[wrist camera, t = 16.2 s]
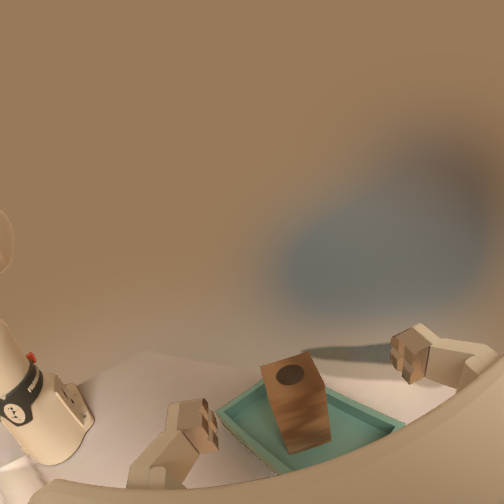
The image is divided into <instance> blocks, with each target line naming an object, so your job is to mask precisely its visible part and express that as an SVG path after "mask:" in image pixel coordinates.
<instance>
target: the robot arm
mask: <svg viewBox="0 0 504 504" xmlns="http://www.w3.org/2000/svg"><path fill="white" fill-rule="evenodd" d="M14 244H15V243H14V233H13V229H12V226H11V223H10V221H9V219H8V218H7V216H6V215H5V213H4V212H3V211H2V210H1V209H0V274H1V273H2V272H3V271H4V270H5V269H6V268H7V267H8V266H10V265H11V263H12V259H13V255H14V247H15V245H14ZM391 345H392V346H393V348H392V350H391V352H390V358H391V362H392V364H393V366H394V368H395V369H396V370H398V371H401V372H402V377H403V378H404V379H405V380H406V381H407V383H408V384H409V385H410V384H412V383H414V382H416V381H418V380H420V379H422V378H423V377H425V378H427V379H430V380H433V381H436V382H439V383H441V384H444V385H447V386H449V387H452V388H455V389H457V390H456V393H455V395H454V396H452V397H451V398H449V399H448V400H446V401H445V402H443V403H442V404H441V405H439V406H437V407H436V408H434V409H433V410H431V411H430V412H428V413H426V414H425V415H423V416H421V417H420V418H418V419H416V420H415V421H413V422H411V423H409V424H408V425H406V426H404V427H402V428H400V429H399V430H397V431H395V432H393V433H391V434H389V435H387V436H385V437H383V438H381V439H379V440H377V441H374V442H372V443H370V444H368V445H366V446H363V447H361V448H359V449H356V450H354V451H352V452H349V453H347V454H344V455H342V456H339V457H336V458H334V459H331V460H328V461H325V462H322V463H319V464H316V465H313V466H310V467H307V468H303V469H300V470H296V471H293V472H289V473H285V474H282V475H277V476H273V477H269V478H264V479H260V480H255V481H249V482H244V483H238V484H231V485H224V486H216V487H207V488H195V489H187V488H186V487H185V486H184V485H183V484H182V482H183V481H184V479H185V478H186V476H187V474H188V473H189V471H190V469H191V468H192V466H193V465H194V463H195V461H196V460H197V458H198V456H199V454H200V453H206V452H212V451H218V450H219V448H218V438H217V436H216V434H215V433H216V432H217V422H216V418H215V416H214V413H213V412H212V410H210V409H208V403H207V401H206V399H204V398H202V399H195V400H189V401H182V402H177V403H170V404H169V406H168V412H167V419H166V426H165V432H161V433H160V434H159V436H158V437H157V438H156V439H155V440H154V441H153V442H152V443H151V444H150V445H149V446H148V448H147V449H146V450H145V451H144V452H143V453H142V454H141V455H140V456H139V457H138V458H137V459H136V460H135V461H134V462H133V464H132V465H131V466H130V469H129V474H128V480H127V486H126V489H125V488H114V487H104V486H97V485H90V484H84V483H78V482H73V481H68V480H64V479H54V480H53V481H51V482H49V483H48V484H46V485H45V486H44V487H42V488H41V489H40V490H38V491H37V492H36V493H34V494H33V496H32V497H31V499H30V500H29V502H28V504H504V355H503V356H502V357H501V356H499V354H497V353H496V352H495V351H493V350H492V349H491V348H489V347H488V346H487V345H485V344H478V343H471V342H465V341H458V340H451V339H446V338H443V339H440V338H439V337H438V336H436V335H435V334H434V333H433V332H431V331H430V330H429V329H427V328H426V327H425V326H424V325H422V324H420V323H418V324H416V325H414V326H413V327H411V328H409V329H407V330H405V331H403V332H401V333H399V334H397V335H395V336H393V337H392V338H391ZM33 363H36V359H35V357H34V355H33V353H31V352H30V353H29V354H28V355H25V354H24V353H23V351H22V349H21V348H20V346H19V344H18V343H17V341H16V339H15V337H14V336H13V334H12V332H11V330H10V328H9V326H8V325H7V324H6V323H5V322H4V321H3V320H2V319H0V416H1V419H2V422H3V423H4V425H5V426H6V427H7V428H8V430H9V431H10V432H11V433H12V435H13V436H14V437H15V438H16V440H17V441H18V442H19V443H20V444H21V449H22V450H23V452H24V453H26V454H29V455H31V456H32V457H33V458H34V459H35V460H36V461H37V462H39V463H40V464H43V465H55V464H58V463H61V462H63V461H65V460H66V459H68V458H69V457H70V456H71V455H72V454H73V453H74V452H75V451H76V450H77V448H78V447H79V445H80V444H81V442H82V439H83V437H84V435H85V433H86V431H87V430H88V429H89V428H90V427H91V426H92V424H93V423H94V418H93V417H92V415H91V413H90V411H89V409H88V407H87V406H86V404H85V402H84V400H83V398H82V396H81V394H80V392H79V390H78V388H77V386H76V385H75V384H65V385H64V384H63V383H62V382H61V380H60V379H59V378H58V377H57V375H55V374H51V373H42V372H41V371H40V370H39V369H38V367H37V366H36V365H34V364H33Z"/></svg>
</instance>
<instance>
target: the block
mask: <svg viewBox="0 0 504 504" xmlns="http://www.w3.org/2000/svg"><path fill="white" fill-rule="evenodd" d="M260 367H261V371H262V375H263V379H264V383H265V387H266V391H267V395H268V399H269V403H270V405H271V408H272V411H273V413H274V416H275V419H276V421H277V424H278V427H279V429H280V432H281V434H282V437H283V440H284V442H285V445H286V447H287V450H288V452H289V455H291V454H295V453H298V452H302V451H305V450H308V449H311V448H314V447H317V446H320V445H323V444H326V443H329V442H332V440H331V431H330V423H329V414H328V406H327V399H326V391H325V384H324V382H323V380H322V378H321V376H320V374H319V372H318V370H317V368H316V366H315V365H314V362H313V360H312V358H311V356H310V354H309V352H305V353H302V354H299V355H296V356H293V357H290V358H287V359H283V360H280V361H277V362H274V363H270V364H267V365H263V366H260Z"/></svg>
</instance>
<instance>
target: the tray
mask: <svg viewBox="0 0 504 504" xmlns="http://www.w3.org/2000/svg"><path fill="white" fill-rule="evenodd" d="M325 391H326V399H327V406H328V414H329V423H330V431H331V440H332V442H329V443H326V444H323V445H320V446H317V447H314V448H311V449H308V450H305V451H302V452H298V453H295V454H291V455H289V452H288V450H287V447H286V445H285V442H284V440H283V437H282V434H281V432H280V429H279V427H278V424H277V421H276V419H275V416H274V413H273V411H272V408H271V405H270V403H269V399H268V395H267V391H266V387H265V383H264V379H262V380H261V381H260V382H258V383H257V384H255V385H254V386H253V387H251V388H250V389H248V390H247V391H245V392H244V393H243V394H241V395H240V396H238V397H237V398H235V399H234V400H232V401H231V402H229V403H228V404H226V405H225V406H223V407H222V408H220V409H219V410H217V411H216V413H217V415H218V417H219V418H220V420H221V422H222V423H223V425H224V426H225V427H226V428H227V429H228V430H229V431H230V432H231V433H232V434H234V435H235V436H236V437H237V438H238V439H239V440H240V441H241V442H242V443H243V444H244V445H245V446H246V447H247V448H248V449H249V450H250V451H252V452H253V453H254V454H255V455H256V456H257V457H258V458H259V459H260V460H262V461H263V462H264V463H265V464H266V465H267V466H269V467H270V468H271V469H272V470H273V471H275V472H276V473H277V474H278V475H282V474H285V473H289V472H293V471H296V470H300V469H303V468H307V467H310V466H313V465H316V464H319V463H322V462H325V461H328V460H331V459H334V458H336V457H339V456H342V455H344V454H347V453H349V452H352V451H354V450H356V449H359V448H361V447H363V446H366V445H368V444H370V443H372V442H374V441H377V440H379V439H381V438H383V437H385V436H387V435H389V434H391V433H393V432H395V431H397V430H399V429H400V428H402V427H404V426H405V423H403V422H401V421H398V420H396V419H393V418H391V417H389V416H386V415H384V414H382V413H380V412H377V411H375V410H373V409H371V408H369V407H366V406H364V405H362V404H360V403H358V402H356V401H354V400H351V399H349V398H347V397H345V396H343V395H341V394H339V393H337V392H335V391H333V390H331V389H329V388H327V387H325Z"/></svg>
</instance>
